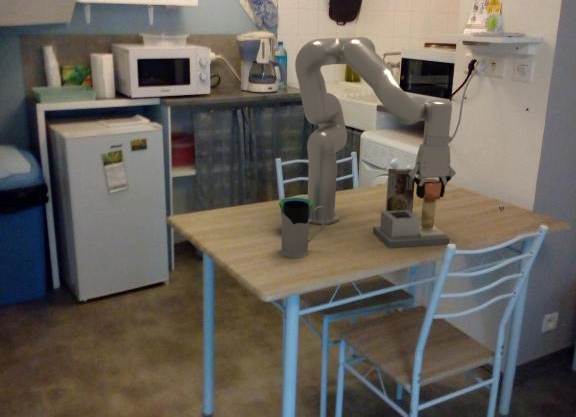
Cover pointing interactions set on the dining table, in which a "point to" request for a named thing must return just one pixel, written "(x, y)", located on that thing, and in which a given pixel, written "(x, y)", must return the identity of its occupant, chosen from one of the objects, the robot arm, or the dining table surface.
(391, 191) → the coffee box
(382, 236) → the charcoal board
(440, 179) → the robot arm
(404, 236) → the grey hollow socket block
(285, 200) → the snack cup
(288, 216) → the glass holder
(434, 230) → the cream pad
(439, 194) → the copper headed peg
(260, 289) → the dining table surface
